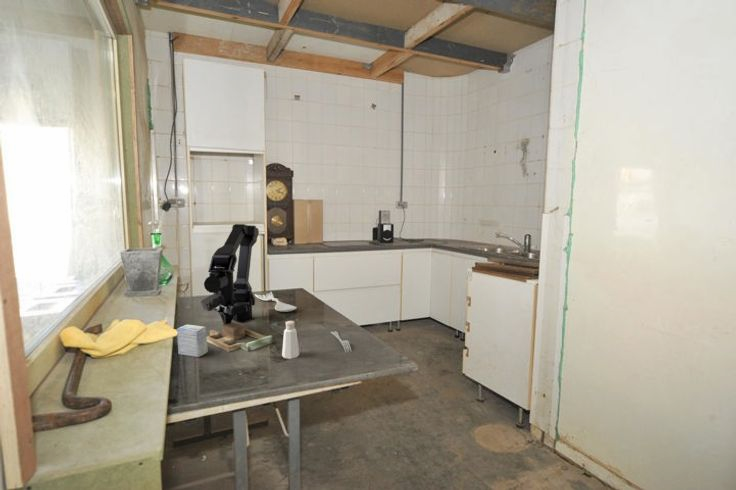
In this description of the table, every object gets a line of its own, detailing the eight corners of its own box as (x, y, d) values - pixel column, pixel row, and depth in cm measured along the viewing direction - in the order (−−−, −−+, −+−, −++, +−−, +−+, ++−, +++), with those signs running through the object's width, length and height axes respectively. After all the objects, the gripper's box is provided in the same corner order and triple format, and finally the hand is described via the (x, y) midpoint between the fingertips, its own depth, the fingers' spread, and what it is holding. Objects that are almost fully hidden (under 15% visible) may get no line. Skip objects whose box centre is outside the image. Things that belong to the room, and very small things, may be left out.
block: (233, 332, 142) (232, 322, 142) (244, 336, 138) (244, 326, 137) (222, 336, 139) (221, 325, 138) (233, 340, 134) (233, 329, 134)
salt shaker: (291, 360, 119) (290, 325, 117) (278, 356, 121) (277, 322, 120) (302, 354, 123) (302, 320, 122) (290, 350, 126) (289, 318, 125)
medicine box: (208, 352, 124) (206, 326, 123) (197, 358, 120) (196, 331, 119) (188, 349, 127) (187, 323, 126) (177, 354, 122) (176, 328, 121)
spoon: (271, 297, 194) (271, 290, 193) (300, 312, 168) (300, 305, 168) (253, 300, 188) (253, 293, 188) (281, 316, 163) (281, 308, 162)
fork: (336, 338, 145) (336, 330, 145) (353, 352, 125) (353, 344, 125) (329, 338, 144) (329, 331, 144) (345, 354, 124) (344, 345, 124)
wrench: (275, 323, 154) (275, 321, 153) (298, 338, 138) (298, 335, 138) (263, 326, 151) (263, 323, 151) (286, 341, 135) (286, 338, 135)
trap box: (233, 327, 148) (233, 321, 147) (272, 342, 132) (272, 335, 132) (198, 337, 137) (198, 330, 137) (236, 355, 122) (236, 347, 122)
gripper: (190, 285, 139) (192, 327, 141) (217, 294, 127) (219, 340, 129) (219, 281, 148) (221, 320, 150) (247, 288, 136) (248, 331, 138)
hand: (226, 327), depth 141 cm, fingers closed
